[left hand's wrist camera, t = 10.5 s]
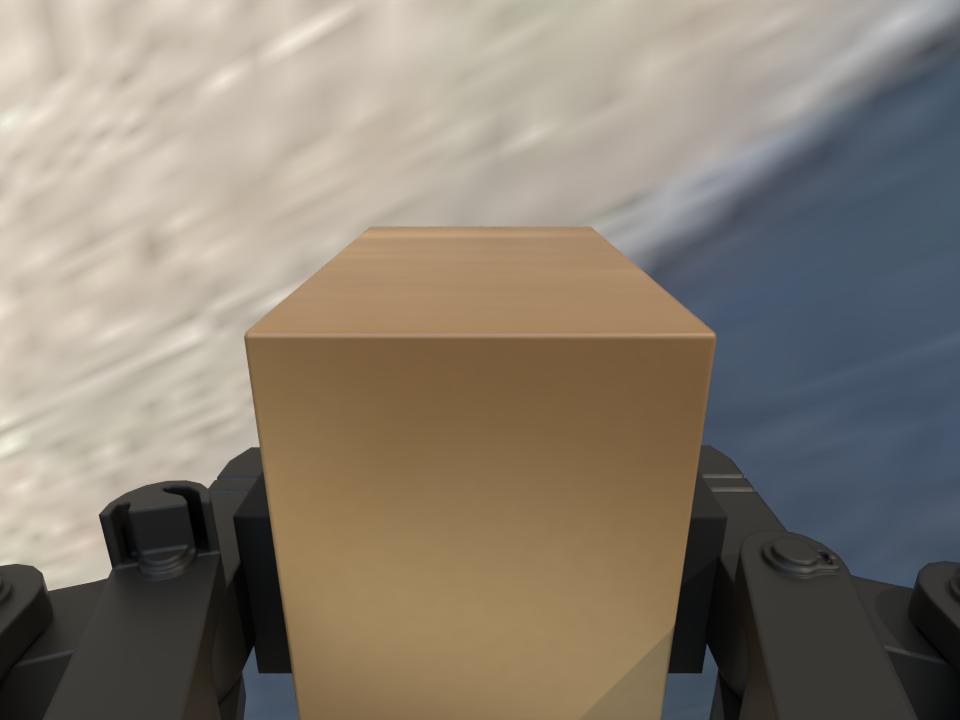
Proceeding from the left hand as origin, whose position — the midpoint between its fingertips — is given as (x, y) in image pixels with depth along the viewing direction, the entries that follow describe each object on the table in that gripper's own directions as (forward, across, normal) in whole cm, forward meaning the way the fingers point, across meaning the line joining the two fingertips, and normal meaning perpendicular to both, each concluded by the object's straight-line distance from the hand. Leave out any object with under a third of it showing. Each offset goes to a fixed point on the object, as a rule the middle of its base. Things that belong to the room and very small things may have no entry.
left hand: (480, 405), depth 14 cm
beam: (+1, 0, -34) cm, 34 cm away
